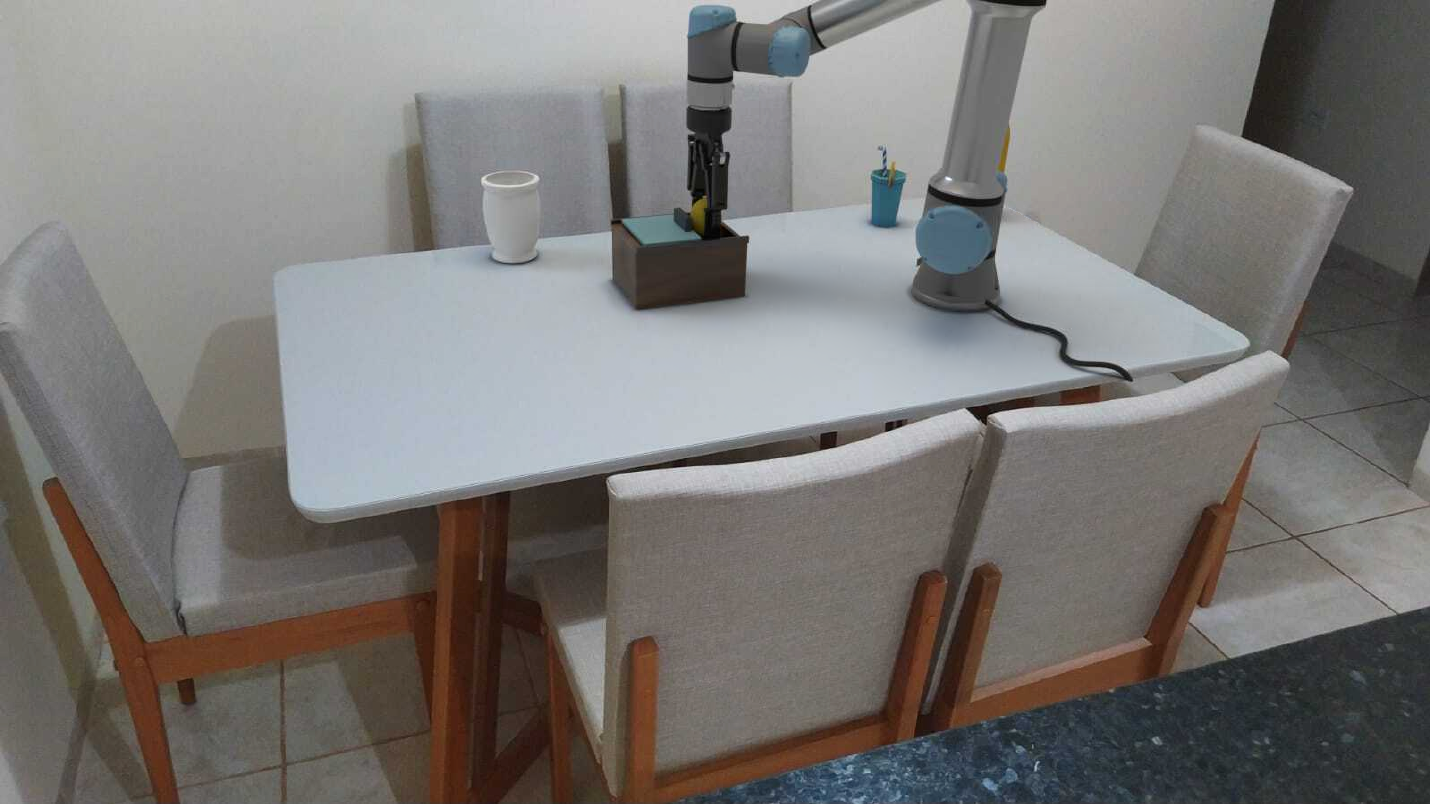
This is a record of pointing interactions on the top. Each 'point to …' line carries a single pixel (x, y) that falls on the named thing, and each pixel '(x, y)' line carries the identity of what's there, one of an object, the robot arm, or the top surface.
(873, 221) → the cup
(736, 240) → the chest
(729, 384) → the top surface
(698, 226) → the lemon
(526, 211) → the jar
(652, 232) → the teal box lid
